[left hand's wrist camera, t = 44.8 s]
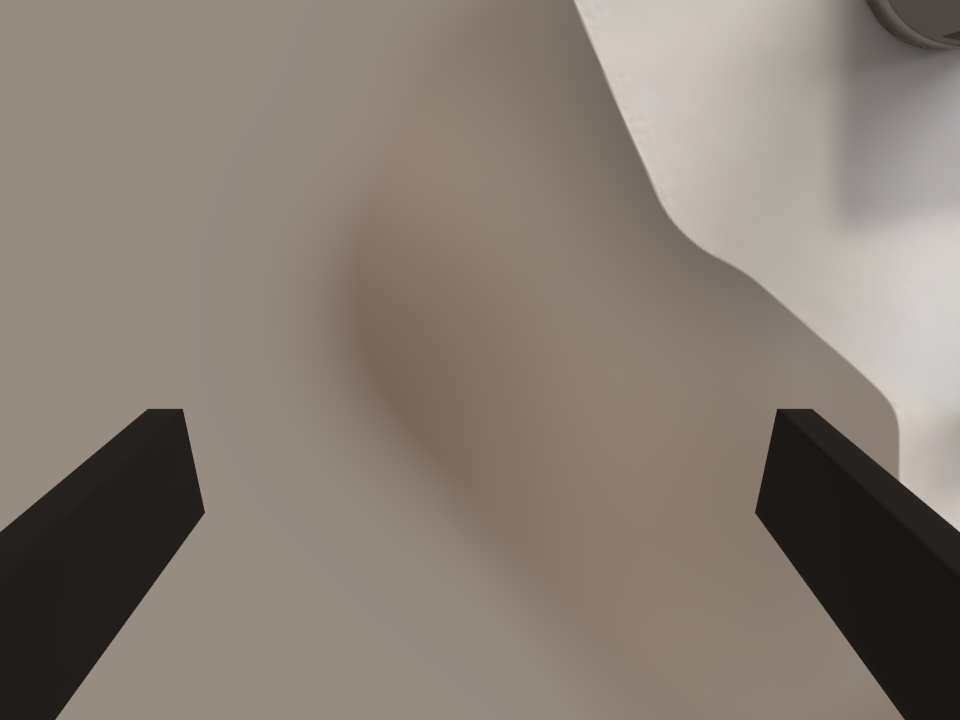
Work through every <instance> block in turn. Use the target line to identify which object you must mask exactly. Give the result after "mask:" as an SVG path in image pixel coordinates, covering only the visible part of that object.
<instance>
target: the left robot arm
mask: <svg viewBox="0 0 960 720" xmlns="http://www.w3.org/2000/svg"><path fill="white" fill-rule="evenodd" d="M867 1H868V3H869V5H870V7H871V9H872V11H873V12H874V14H875V15H876V17H877V18H878V20H879V21H880V22H881V23H882V24H883V26H884V27H885V28H887V29H888V30H889V31H890V32H891V33H892V34H894V35H895V36H896V37H898V38H899V39H901V40H903V41H905V42H907V43H909V44H912V45H915V46H918V47H922V48H927V49H935V50H947V49H956V48H960V0H867ZM957 50H958V49H957ZM204 513H205V511H204V506H203V502H202V497H201V492H200V488H199V483H198V478H197V474H196V469H195V464H194V459H193V455H192V450H191V445H190V441H189V436H188V431H187V427H186V422H185V418H184V413H183V409H147V410H146V411H145V412H144V413H143V414H141V415H140V416H139V417H138V418H137V419H135V420H134V421H133V422H132V423H131V424H129V425H128V426H127V427H126V428H125V429H123V430H122V431H121V432H120V433H119V434H117V435H116V436H115V437H114V438H113V439H111V440H110V441H109V442H108V443H107V444H105V445H104V446H103V447H102V448H101V449H99V450H98V451H97V452H96V453H95V454H94V455H92V456H91V457H90V458H89V459H87V460H86V461H85V462H84V463H83V464H81V465H80V466H79V467H78V468H77V469H75V470H74V471H73V472H72V473H71V474H69V475H68V476H67V477H66V478H65V479H63V480H62V481H61V482H60V483H59V484H57V485H56V486H55V487H54V488H53V489H51V490H50V491H49V492H48V493H47V494H45V495H44V496H43V497H42V498H41V499H39V500H38V501H37V502H36V503H35V504H33V505H32V506H31V507H30V508H29V509H27V510H26V511H25V512H24V513H23V514H21V515H20V516H19V517H18V518H17V519H15V520H14V521H13V522H12V523H11V524H9V525H8V526H7V527H6V528H5V529H3V530H2V531H1V532H0V720H55V719H56V718H57V717H58V715H59V714H60V712H61V711H62V710H63V708H64V707H65V705H66V704H67V703H68V701H69V700H70V699H71V697H72V696H73V694H74V693H75V692H76V690H77V689H78V687H79V686H80V685H81V683H82V682H83V681H84V679H85V678H86V676H87V675H88V674H89V672H90V671H91V669H92V668H93V667H94V665H95V664H96V663H97V661H98V660H99V658H100V657H101V656H102V654H103V653H104V652H105V650H106V649H107V647H108V646H109V645H110V643H111V642H112V640H113V639H114V638H115V636H116V635H117V634H118V632H119V631H120V629H121V628H122V627H123V625H124V624H125V622H126V621H127V620H128V618H129V617H130V616H131V614H132V613H133V611H134V610H135V609H136V607H137V606H138V604H139V603H140V602H141V600H142V599H143V598H144V596H145V595H146V593H147V592H148V591H149V589H150V588H151V587H152V585H153V584H154V582H155V581H156V580H157V578H158V577H159V575H160V574H161V573H162V571H163V570H164V568H165V567H166V566H167V564H168V563H169V562H170V560H171V559H172V557H173V556H174V555H175V553H176V552H177V550H178V549H179V548H180V546H181V545H182V544H183V542H184V541H185V539H186V538H187V537H188V535H189V534H190V533H191V531H192V530H193V528H194V527H195V526H196V524H197V523H198V521H199V520H200V519H201V517H202V516H203V515H204ZM755 513H756V515H757V516H758V517H759V519H760V520H761V521H762V523H763V524H764V526H765V527H766V528H767V530H768V531H769V533H770V534H771V535H772V537H773V538H774V540H775V541H776V542H777V544H778V545H779V546H780V548H781V549H782V551H783V552H784V553H785V555H786V556H787V557H788V559H789V560H790V562H791V563H792V564H793V566H794V567H795V569H796V570H797V571H798V573H799V574H800V575H801V577H802V578H803V580H804V581H805V582H806V584H807V585H808V587H809V588H810V589H811V591H812V592H813V593H814V595H815V596H816V598H817V599H818V600H819V602H820V603H821V605H822V606H823V607H824V609H825V610H826V611H827V613H828V614H829V616H830V617H831V618H832V620H833V621H834V622H835V624H836V625H837V627H838V628H839V629H840V631H841V632H842V634H843V635H844V636H845V638H846V639H847V640H848V642H849V643H850V645H851V646H852V647H853V649H854V650H855V651H856V653H857V654H858V656H859V657H860V658H861V660H862V661H863V663H864V664H865V665H866V667H867V668H868V670H869V671H870V672H871V674H872V675H873V676H874V678H875V679H876V681H877V682H878V683H879V685H880V686H881V687H882V689H883V690H884V692H885V693H886V694H887V696H888V697H889V699H890V700H891V701H892V703H893V704H894V705H895V707H896V708H897V710H898V711H899V712H900V714H901V715H902V716H903V718H904V719H905V720H960V532H959V531H958V530H957V529H955V528H954V527H953V526H952V525H951V524H949V523H948V522H947V521H946V520H945V519H943V518H942V517H941V516H940V515H939V514H937V513H936V512H935V511H934V510H933V509H931V508H930V507H929V506H928V505H927V504H925V503H924V502H923V501H922V500H921V499H919V498H918V497H917V496H916V495H915V494H913V493H912V492H911V491H910V490H909V489H907V488H906V487H905V486H904V485H903V484H901V483H900V482H899V481H898V480H897V479H895V478H894V477H893V476H892V475H891V474H889V473H888V472H887V471H886V470H885V469H883V468H882V467H881V466H880V465H879V464H877V463H876V462H875V461H874V460H873V459H871V458H870V457H869V456H868V455H867V454H865V453H864V452H863V451H862V450H861V449H859V448H858V447H857V446H856V445H855V444H853V443H852V442H851V441H850V440H849V439H847V438H846V437H845V436H844V435H843V434H841V433H840V432H839V431H838V430H837V429H835V428H834V427H833V426H832V425H831V424H829V423H828V422H827V421H826V420H825V419H823V418H822V417H821V416H820V415H819V414H817V413H816V412H815V411H814V410H813V409H777V413H776V417H775V422H774V427H773V431H772V436H771V441H770V445H769V450H768V455H767V460H766V464H765V469H764V474H763V478H762V483H761V488H760V492H759V497H758V502H757V506H756V511H755Z"/></svg>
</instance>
